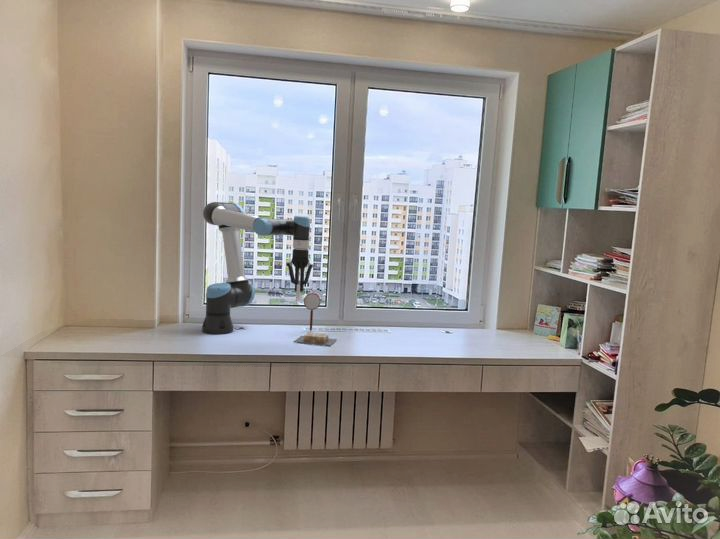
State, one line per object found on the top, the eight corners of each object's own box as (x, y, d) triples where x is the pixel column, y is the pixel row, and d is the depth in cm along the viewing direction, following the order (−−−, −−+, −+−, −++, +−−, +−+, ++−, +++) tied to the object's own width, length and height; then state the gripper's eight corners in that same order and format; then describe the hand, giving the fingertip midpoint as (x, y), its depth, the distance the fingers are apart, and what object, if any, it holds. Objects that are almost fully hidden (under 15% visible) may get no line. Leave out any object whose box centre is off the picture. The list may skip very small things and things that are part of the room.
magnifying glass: (319, 331, 271) (320, 293, 269) (319, 331, 269) (321, 293, 267) (302, 330, 270) (304, 292, 267) (302, 331, 268) (304, 293, 266)
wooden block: (304, 335, 245) (324, 337, 244) (308, 332, 252) (328, 334, 250) (303, 341, 246) (324, 343, 244) (308, 338, 253) (328, 340, 251)
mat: (293, 342, 245) (293, 341, 245) (301, 336, 257) (301, 335, 257) (330, 346, 242) (330, 345, 242) (336, 340, 254) (336, 339, 253)
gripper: (284, 248, 243) (283, 298, 245) (311, 250, 240) (309, 300, 243) (290, 247, 250) (288, 296, 253) (316, 249, 248) (314, 298, 250)
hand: (298, 298), depth 248 cm, fingers closed
